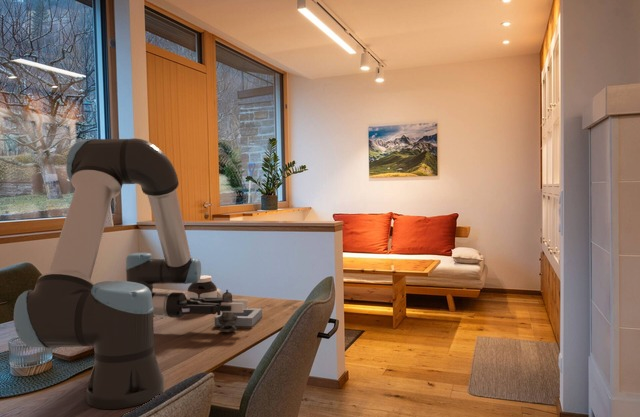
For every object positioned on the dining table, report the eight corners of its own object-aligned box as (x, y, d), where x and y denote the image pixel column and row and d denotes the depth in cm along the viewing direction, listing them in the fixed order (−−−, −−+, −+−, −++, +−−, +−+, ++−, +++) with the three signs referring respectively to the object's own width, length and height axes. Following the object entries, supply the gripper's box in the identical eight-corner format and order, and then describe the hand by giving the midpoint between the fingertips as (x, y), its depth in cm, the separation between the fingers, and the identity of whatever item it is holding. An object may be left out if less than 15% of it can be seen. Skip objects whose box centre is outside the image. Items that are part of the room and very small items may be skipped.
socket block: (252, 327, 152) (251, 318, 151) (214, 326, 153) (214, 317, 153) (262, 317, 163) (262, 308, 163) (227, 316, 165) (227, 307, 165)
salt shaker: (233, 332, 144) (232, 291, 143) (214, 331, 145) (213, 291, 145) (240, 326, 150) (239, 287, 149) (222, 326, 151) (221, 287, 150)
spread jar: (184, 311, 174) (183, 278, 174) (202, 303, 185) (201, 272, 184) (214, 313, 170) (213, 279, 170) (230, 305, 181) (229, 274, 180)
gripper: (182, 310, 158) (253, 311, 155) (157, 324, 142) (236, 326, 138) (181, 287, 158) (252, 288, 154) (157, 298, 141) (236, 299, 138)
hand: (244, 306), depth 146 cm, fingers closed on salt shaker, 3 cm apart
